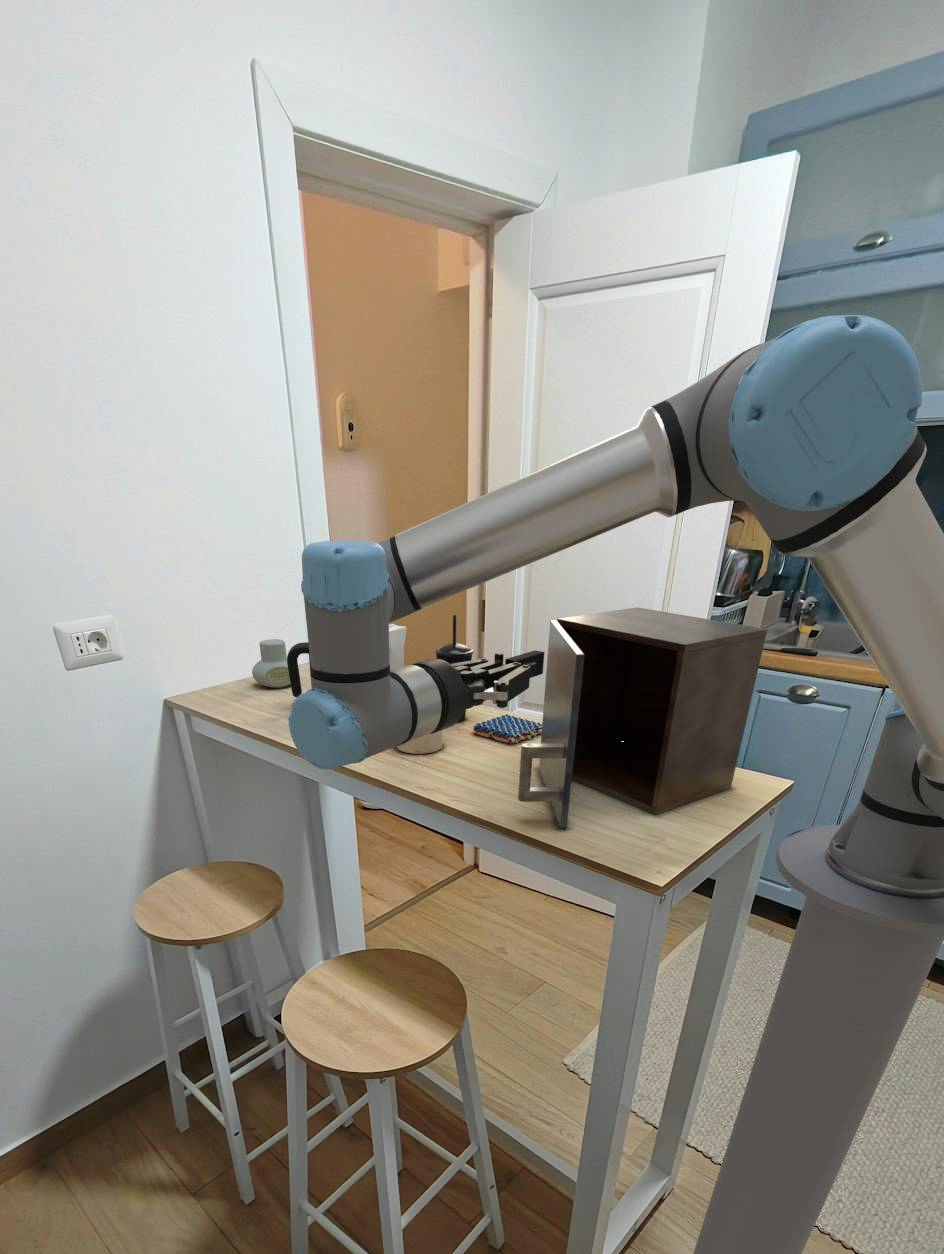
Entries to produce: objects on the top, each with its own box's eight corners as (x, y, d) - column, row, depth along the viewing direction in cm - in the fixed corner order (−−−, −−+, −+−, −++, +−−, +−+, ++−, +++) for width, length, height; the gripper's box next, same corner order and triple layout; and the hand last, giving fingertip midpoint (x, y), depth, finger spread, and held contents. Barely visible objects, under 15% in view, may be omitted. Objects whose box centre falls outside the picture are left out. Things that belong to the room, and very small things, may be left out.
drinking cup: (478, 716, 147) (481, 613, 136) (462, 726, 141) (464, 620, 131) (445, 711, 150) (445, 610, 139) (428, 721, 144) (427, 616, 134)
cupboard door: (518, 828, 100) (530, 654, 88) (504, 768, 121) (512, 620, 108) (566, 828, 100) (584, 654, 88) (544, 768, 121) (556, 620, 108)
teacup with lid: (452, 743, 132) (452, 679, 126) (429, 758, 126) (428, 691, 120) (397, 734, 137) (395, 672, 131) (372, 748, 131) (368, 683, 124)
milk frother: (350, 700, 158) (346, 630, 150) (370, 719, 145) (366, 644, 138) (287, 707, 154) (279, 635, 146) (302, 727, 141) (294, 650, 133)
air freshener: (258, 691, 165) (252, 646, 159) (250, 683, 171) (244, 640, 166) (304, 686, 168) (299, 642, 163) (294, 678, 175) (290, 636, 170)
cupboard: (655, 815, 104) (685, 644, 92) (544, 768, 121) (557, 618, 109) (731, 788, 113) (767, 629, 100) (617, 747, 130) (637, 607, 117)
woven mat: (546, 733, 137) (547, 723, 136) (511, 746, 131) (512, 735, 130) (505, 722, 143) (506, 712, 142) (470, 734, 137) (470, 723, 136)
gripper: (376, 723, 81) (496, 683, 97) (465, 747, 74) (580, 700, 90) (373, 655, 77) (498, 625, 93) (467, 674, 70) (586, 637, 86)
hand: (538, 662), depth 91 cm, fingers closed
